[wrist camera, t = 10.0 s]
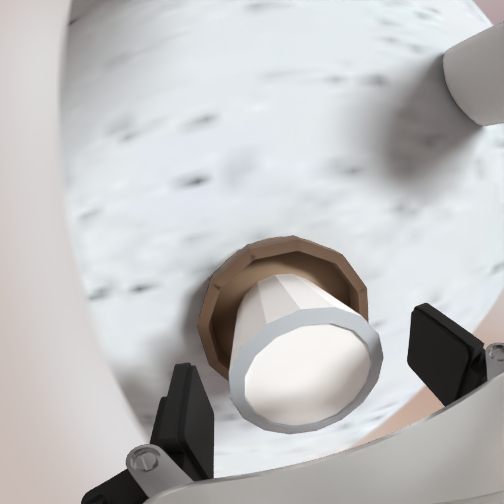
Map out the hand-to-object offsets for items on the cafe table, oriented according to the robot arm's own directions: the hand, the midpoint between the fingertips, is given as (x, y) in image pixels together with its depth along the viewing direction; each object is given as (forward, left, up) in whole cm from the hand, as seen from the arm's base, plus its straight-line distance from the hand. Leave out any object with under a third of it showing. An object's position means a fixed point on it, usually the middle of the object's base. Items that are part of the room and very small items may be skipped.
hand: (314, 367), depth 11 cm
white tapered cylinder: (+1, 0, -7) cm, 7 cm away
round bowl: (+1, 0, -8) cm, 8 cm away
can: (-14, +20, -8) cm, 26 cm away
